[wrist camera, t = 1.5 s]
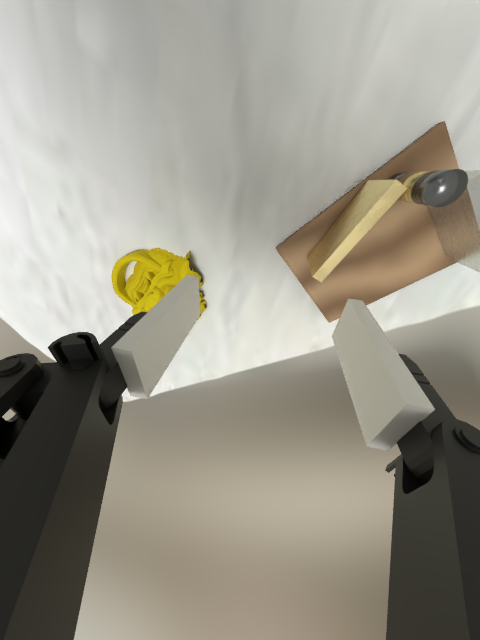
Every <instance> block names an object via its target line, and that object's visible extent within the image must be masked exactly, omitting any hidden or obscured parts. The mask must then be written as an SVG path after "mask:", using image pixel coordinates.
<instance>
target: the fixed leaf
mask: <svg viewBox="0 0 480 640" xmlns="http://www.w3.org/2000/svg"><path fill="white" fill-rule="evenodd" d="M411 173H412V172H411ZM406 174H409V173H399V174H395V175H393V176H391V177H390V178H389V179H388V180H398V181H399V180H400V179H401V178H402V177H403V176H405V175H406ZM411 199H412V201H413V202H414V203H416V204H421V205H426V206H427V208H428V211H429V214H430V216H431V219H432V222H433V224H434V227H435V230H436V232H437V235H438V238H439V240H440V243H441V246H442V249H443V251H444V254H445V257H448V258H450V259H452V260H454V261H456V262H459V263H461V264H463V265H465V266H467V267H469V268H472V269H474V270H476V271H478V272H480V170H477V171H463V170H461V169H451V170H438V171H431V172H428V173H426V174H424V175H423V176H421V177H420V178H419V179H418V180H417V181H416V182H415V184H414V185H413V187H412V190H411ZM396 201H398V200H396Z"/></svg>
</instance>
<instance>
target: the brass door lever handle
mask: <svg viewBox="0 0 480 640" xmlns="http://www.w3.org/2000/svg"><path fill="white" fill-rule="evenodd" d="M428 172H431V171H425V172H412V173H409V174H406V175H405V176H403V177H402V178H401V179H400V180H399V181H398V180H368V181H367V182H366V184H365V185H364V186H363V187H362V189H361V190H360V191H359V192H358V194H357V195H356V196H355V198H354V199H353V200H352V201H351V203H350V204H349V205H348V206H347V208H346V209H345V210H344V211H343V213H342V214H341V215H340V216H339V218H338V219H337V220H336V221H335V223H334V224H333V225H332V226H331V228H330V229H329V230H328V232H327V233H326V234H325V235H324V237H323V238H322V239H321V240H320V242H319V243H318V244H317V245H316V247H315V248H314V249H313V250H312V252H311V253H310V254H309V255H308V257H307V261H308V264H309V267H310V270H311V274H312V277H314V278H315V279H317V280H318V281H320V282H322V281H323V280H324V279H325V278H326V277H327V276H328V275H329V273H330V272H331V271H332V270H333V269H334V268H335V267H336V266H337V265H338V264H339V263H340V261H341V260H342V259H343V258H344V257H345V256H346V255H347V254H348V253H349V252H350V251H351V249H352V248H353V247H354V246H355V245H356V244H357V243H358V242H359V241H360V240H361V239H362V237H363V236H364V235H365V234H366V233H367V232H368V231H369V230H370V229H371V228H372V227H373V225H374V224H375V223H376V222H377V221H378V220H379V219H380V218H381V217H382V216H383V215H384V213H385V212H386V211H387V210H388V209H389V208H390V207H391V206H392V205H393V204H394V203H395V201H396V200H398V201H402V202H408V203H414V202H413V201H412V199H411V190H412V187H413V185H414V184H415V182H416V181H417V180H418V179H419V178H420V177H421V176H423V175H424V174H426V173H428ZM414 204H416V203H414Z"/></svg>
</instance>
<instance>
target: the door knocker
mask: <svg viewBox="0 0 480 640" xmlns="http://www.w3.org/2000/svg"><path fill="white" fill-rule="evenodd" d="M189 258H190V251H189V253H187V255H186V258H185V257H184V258H183V257H179V256H176V255H174V254H173V253H170V252H168V251H167V250H162V249H160V248H155V249H152V250H150V251H148V250H137V251H134V252H132V253H130V254H128V255H126V256H124V257H123V258H121V259H119V260H118V261H117V262H116V264H115V266H114V268H113V271H112V284H113V288H114V290H115V292H116V294H117V295H118V296H119V297H120V298H121V299H122V300H124V301H125V302H127V303H128V304H130V305H131V306H132V307H133V308H134V309H133V310H132V313H133V314H134V315H135V314H138V313H140V312H149V311H150V310H151V309H152V308H153V307H154V306H155V305H156V304H157V303H158V302H159V301H160V300H161V299H162V298H163V297H164V296H165V295H166V294H167V293H168V292H170V291H171V290H172V289H173V288H174V287H175V286H176V285H177V284H178V283H179V282H180V281H181V280H182V279H183V278H184V277H185V276H186V275H189V276H196V277H199V288H200V287H201V286H202V284H203V283H202V282H201V283H200V280H201V276H199V274H198V273H197V272H193V268H192V271H191V270H190V268H189V261H188V259H189ZM131 261H138V262H137V263H136V265H135V268H134V274H133V275H131V276H130V277H129V279H128V280H127V282H126V281H125V270H126V268H127V266H128V264H129V263H130V262H131ZM203 282H204V280H203ZM199 294H200V295H201V296H202V293H199ZM200 295H199V296H200ZM201 296H200V302H201V301H202V300H203V298H204V297H203V298H201ZM203 304H204V305H203ZM205 304H206V301H203V302H201V303H200V313H202V312H204V311H205V309H206V308H207V307H206V308H205ZM200 316H201V315H200ZM200 316H199V317H200ZM199 317H198V319H199ZM198 319H197V320H198Z"/></svg>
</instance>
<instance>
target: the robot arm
mask: <svg viewBox="0 0 480 640" xmlns="http://www.w3.org/2000/svg"><path fill="white" fill-rule="evenodd" d="M199 316H200V296H199V277H196V276H189V275H186V276H185V277H184V278H183V279H182V280H181V281H180V282H179V283H178V284H177V285H176V286H175V287H174V288H173V289H172V290H171V291H170V292H168V293H167V294H166V295H165V296H164V297H163V298H162V299H161V300H160V301H159V302H158V303H157V304H156V305H155V306H154V307H153V308H152V309H151V310H150V311H149V312H140V313H138V314H135V315H133V316H132V317H130V318H129V319H128V320H127V321H126V322H125V323H124V324H123V325H121V326H120V327H119V328H118V330H116V331H115V332H113V333H112V334H111V335H110V336H109V337H108V338H107V339H106V340H104V341H103V342H102V343H101V344H100V345H99V343H98V341H97V339H96V337H95V336H94V335H93V334H91V333H88V332H78V333H72V334H69V335H66V336H63V337H61V338H59V339H57V340H56V341H54V342H53V343H52V344H51V345H50V346H49V347H48V349H49V350H50V352H51V353H52V355H53V356H54V358H55V360H56V361H57V362H55V363H40V361H39V360H38V359H37V357H35V356H34V355H33V354H27V353H26V354H17V355H14V356H10V357H7V358H5V359H2V360H0V640H73V639H74V635H75V630H76V625H77V620H78V615H79V611H80V606H81V601H82V596H83V591H84V586H85V582H86V577H87V572H88V567H89V562H90V557H91V552H92V547H93V543H94V538H95V533H96V529H97V524H98V519H99V514H100V509H101V504H102V500H103V495H104V490H105V485H106V480H107V475H108V471H109V466H110V461H111V456H112V451H113V446H114V442H115V437H116V432H117V427H118V422H119V417H120V413H121V408H122V403H123V399H122V395H121V394H122V393H123V392H124V390H125V389H126V388H128V391H129V393H130V396H135V397H140V398H144V399H148V397H149V396H150V394H151V392H152V391H153V389H154V388H155V386H156V384H157V383H158V381H159V380H160V378H161V376H162V375H163V373H164V372H165V370H166V369H167V367H168V365H169V364H170V362H171V361H172V359H173V357H174V356H175V354H176V353H177V351H178V349H179V348H180V346H181V345H182V343H183V341H184V340H185V338H186V337H187V335H188V333H189V332H190V330H191V329H192V327H193V325H194V324H195V322H196V321H197V319H198V317H199ZM332 338H333V341H334V344H335V347H336V351H337V354H338V357H339V360H340V363H341V367H342V370H343V373H344V376H345V379H346V382H347V386H348V389H349V392H350V395H351V398H352V401H353V405H354V408H355V411H356V414H357V417H358V421H359V424H360V427H361V430H362V433H363V436H364V439H365V443H366V446H368V447H373V448H378V449H383V450H387V451H388V450H390V449H391V448H392V447H393V446H394V445H395V444H396V443H397V444H398V447H399V449H400V451H401V453H402V454H401V455H400V456H398V457H397V458H396V459H395V460H393V461H392V462H391V463H390V464H388V465H387V467H386V471H387V472H390V471H392V470H393V469H394V468H396V471H395V474H394V476H395V490H394V508H393V525H392V543H391V561H390V579H389V597H388V615H387V632H386V640H480V431H479V430H478V429H477V428H475V427H473V426H471V425H470V424H468V423H466V422H463V421H460V420H458V419H456V418H455V417H454V415H453V414H452V413H451V411H450V410H449V408H448V407H447V406H446V404H445V403H444V402H443V400H442V399H441V397H440V396H439V395H438V393H437V392H436V390H435V389H434V388H433V387H432V385H430V382H429V381H428V380H427V378H426V377H425V376H424V374H423V373H422V371H421V370H420V369H419V367H418V366H417V365H416V364H415V363H414V362H413V361H412V360H411V359H409V358H408V357H407V356H406V355H403V354H398V353H397V351H396V350H395V348H394V347H393V346H392V344H391V342H390V341H389V339H388V338H387V336H386V335H385V334H384V332H383V330H382V329H381V327H380V326H379V324H378V323H377V321H376V320H375V318H374V317H373V315H372V314H371V312H370V311H369V309H368V308H367V306H366V305H365V303H364V302H363V301H362V300H355V299H348V301H347V303H346V305H345V307H344V310H343V312H342V314H341V317H340V319H339V321H338V323H337V326H336V328H335V330H334V332H333V335H332ZM9 409H11V410H13V411H14V412H15V413H16V414H15V416H14V417H12V418H11V419H10V420H8V421H6V420H4V419H3V418H2V416H3V415H4V414H5V413H6V412H7V411H8V410H9Z"/></svg>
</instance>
